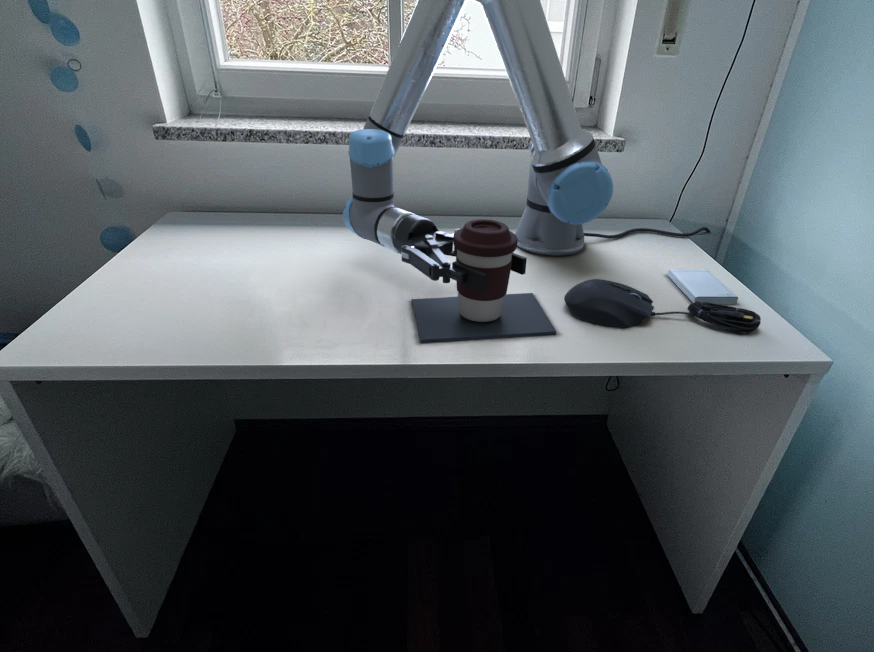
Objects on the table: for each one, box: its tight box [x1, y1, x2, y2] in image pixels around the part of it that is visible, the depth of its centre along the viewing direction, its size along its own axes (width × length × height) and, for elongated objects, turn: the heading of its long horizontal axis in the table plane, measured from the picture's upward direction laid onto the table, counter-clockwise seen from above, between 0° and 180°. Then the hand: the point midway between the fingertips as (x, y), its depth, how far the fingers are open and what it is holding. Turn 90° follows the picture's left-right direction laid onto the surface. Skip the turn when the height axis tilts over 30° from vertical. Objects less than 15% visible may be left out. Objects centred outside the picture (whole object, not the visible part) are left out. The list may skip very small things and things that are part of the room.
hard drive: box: [666, 268, 739, 305], centre depth 104 cm, size 2×8×12 cm
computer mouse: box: [563, 278, 761, 334], centre depth 92 cm, size 10×32×6 cm, turn 83°
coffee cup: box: [453, 218, 518, 322], centre depth 87 cm, size 10×10×15 cm
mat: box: [411, 292, 557, 344], centre depth 92 cm, size 22×14×1 cm, turn 100°
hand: (505, 274), depth 84 cm, fingers closed on coffee cup, 9 cm apart
